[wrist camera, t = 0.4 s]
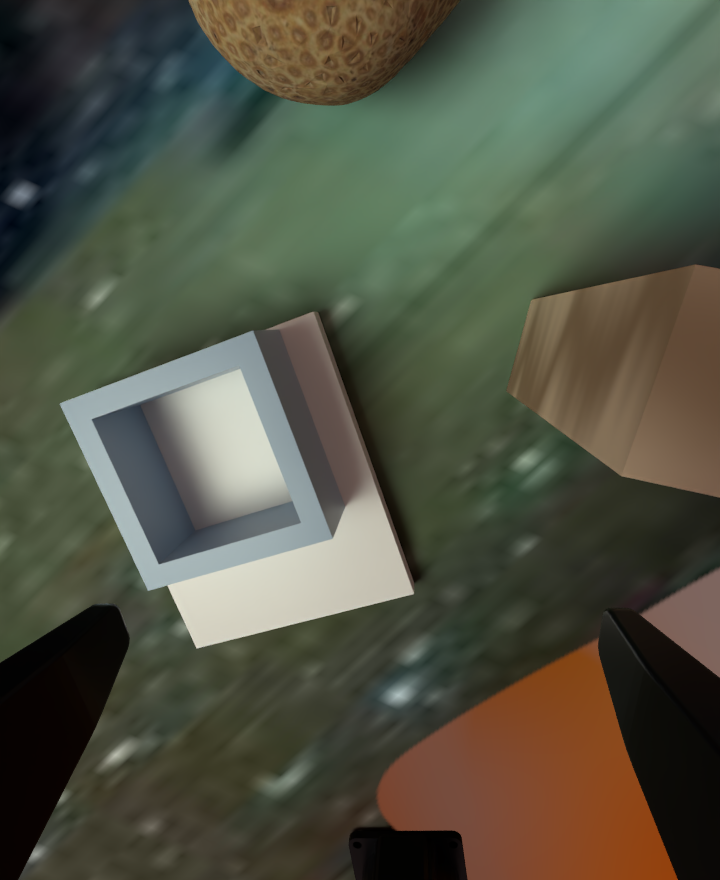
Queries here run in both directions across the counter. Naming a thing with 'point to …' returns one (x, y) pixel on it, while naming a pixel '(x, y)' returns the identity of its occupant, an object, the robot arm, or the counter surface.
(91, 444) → the well board
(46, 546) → the counter surface
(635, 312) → the wooden post
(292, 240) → the counter surface
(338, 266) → the counter surface
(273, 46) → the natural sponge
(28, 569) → the counter surface
